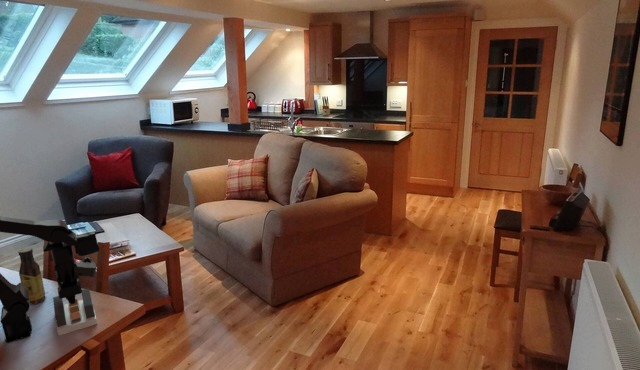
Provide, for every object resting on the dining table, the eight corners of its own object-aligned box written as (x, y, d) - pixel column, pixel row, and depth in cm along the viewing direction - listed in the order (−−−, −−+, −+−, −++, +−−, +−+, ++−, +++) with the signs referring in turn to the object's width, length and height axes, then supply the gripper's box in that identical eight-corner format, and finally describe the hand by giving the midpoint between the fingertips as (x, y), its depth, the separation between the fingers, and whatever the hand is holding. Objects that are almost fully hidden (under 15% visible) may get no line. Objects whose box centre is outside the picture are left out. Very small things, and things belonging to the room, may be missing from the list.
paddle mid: (70, 313, 145) (69, 307, 145) (70, 312, 146) (69, 306, 146) (79, 311, 147) (78, 305, 146) (79, 310, 148) (78, 304, 147)
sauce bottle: (21, 302, 157) (8, 251, 151) (39, 294, 162) (27, 244, 156) (33, 307, 154) (20, 254, 148) (50, 298, 159) (39, 247, 153)
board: (97, 323, 144) (96, 318, 143) (58, 335, 138) (57, 329, 138) (92, 302, 156) (91, 297, 155) (56, 312, 150) (54, 307, 150)
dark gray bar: (86, 318, 143) (84, 306, 142) (83, 301, 153) (80, 290, 151) (95, 316, 144) (92, 304, 143) (91, 299, 154) (88, 288, 153)
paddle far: (69, 307, 149) (68, 301, 149) (69, 306, 150) (68, 300, 150) (78, 304, 150) (77, 299, 150) (78, 303, 151) (76, 298, 151)
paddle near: (71, 320, 142) (70, 314, 141) (71, 319, 143) (70, 313, 142) (80, 317, 143) (79, 311, 143) (80, 316, 144) (79, 310, 144)
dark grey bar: (57, 327, 139) (54, 315, 138) (55, 309, 149) (53, 297, 147) (66, 324, 140) (63, 312, 139) (63, 306, 150) (61, 295, 149)
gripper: (95, 264, 137) (104, 308, 142) (88, 243, 152) (96, 284, 157) (53, 274, 132) (64, 320, 136) (51, 251, 147) (60, 293, 151)
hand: (73, 303), depth 145 cm, fingers closed
